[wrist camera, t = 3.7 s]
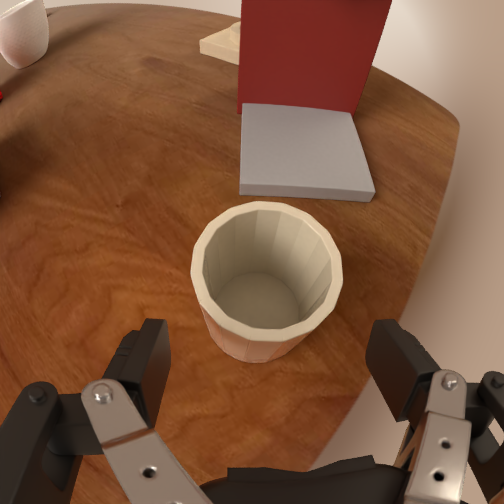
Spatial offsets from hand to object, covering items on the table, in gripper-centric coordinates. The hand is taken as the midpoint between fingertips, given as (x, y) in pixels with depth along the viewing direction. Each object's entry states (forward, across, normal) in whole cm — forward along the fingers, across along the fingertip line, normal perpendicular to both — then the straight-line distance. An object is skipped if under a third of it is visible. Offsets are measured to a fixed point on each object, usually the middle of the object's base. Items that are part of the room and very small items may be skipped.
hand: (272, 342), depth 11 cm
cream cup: (+8, 0, +3) cm, 9 cm away
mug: (+41, +43, -29) cm, 66 cm away
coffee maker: (+20, -4, -9) cm, 23 cm away
